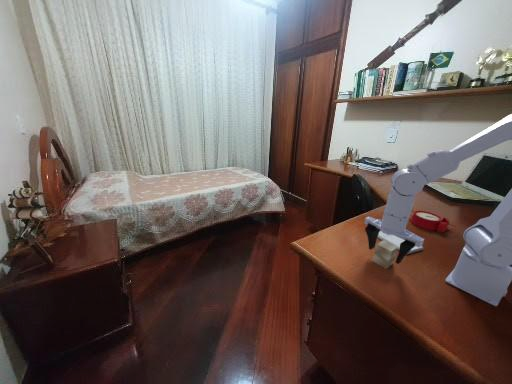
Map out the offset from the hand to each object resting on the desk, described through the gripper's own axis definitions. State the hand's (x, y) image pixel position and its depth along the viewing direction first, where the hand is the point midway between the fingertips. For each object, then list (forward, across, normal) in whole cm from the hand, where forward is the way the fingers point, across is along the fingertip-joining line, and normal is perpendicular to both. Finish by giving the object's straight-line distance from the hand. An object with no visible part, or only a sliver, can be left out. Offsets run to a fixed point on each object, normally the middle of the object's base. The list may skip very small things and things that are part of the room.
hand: (384, 254), depth 61 cm
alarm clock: (+3, -1, +41) cm, 41 cm away
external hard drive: (+3, -3, +16) cm, 17 cm away
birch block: (+3, 0, 0) cm, 3 cm away
